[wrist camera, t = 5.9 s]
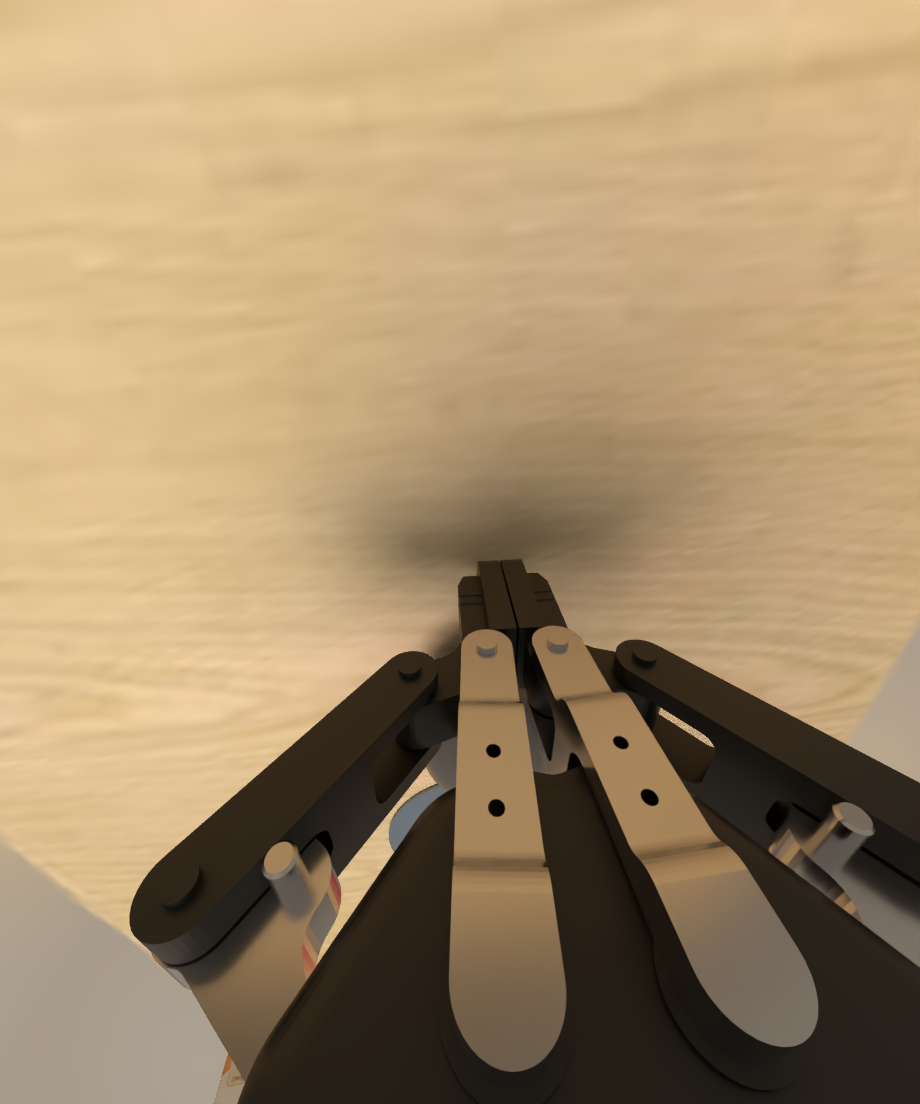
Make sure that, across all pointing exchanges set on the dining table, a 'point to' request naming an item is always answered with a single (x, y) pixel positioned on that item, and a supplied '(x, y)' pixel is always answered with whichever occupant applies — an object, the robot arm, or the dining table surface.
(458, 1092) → the robot arm
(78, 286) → the dining table surface
